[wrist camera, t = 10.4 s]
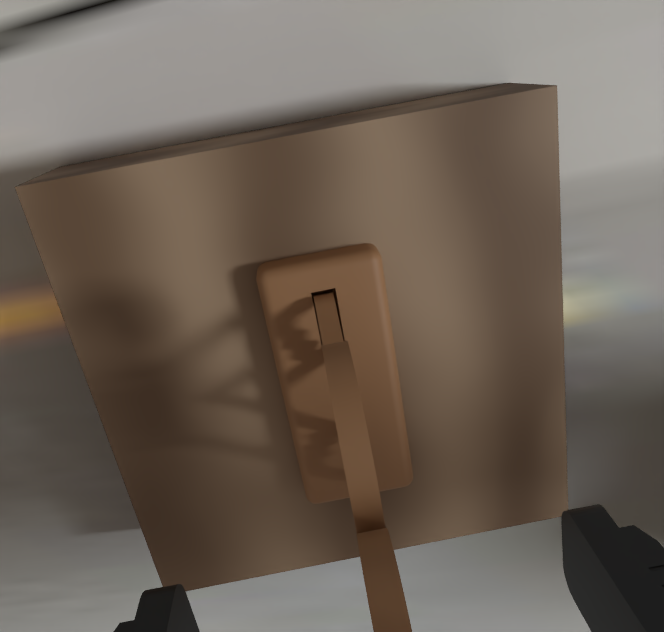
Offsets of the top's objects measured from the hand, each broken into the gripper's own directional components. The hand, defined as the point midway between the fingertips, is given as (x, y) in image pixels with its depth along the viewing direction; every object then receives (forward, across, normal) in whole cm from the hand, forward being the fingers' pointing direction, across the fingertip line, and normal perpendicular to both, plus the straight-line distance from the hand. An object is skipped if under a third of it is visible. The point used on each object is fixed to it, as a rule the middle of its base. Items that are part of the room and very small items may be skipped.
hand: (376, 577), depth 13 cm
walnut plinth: (+13, 0, 0) cm, 13 cm away
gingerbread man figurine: (+9, 0, 0) cm, 9 cm away
